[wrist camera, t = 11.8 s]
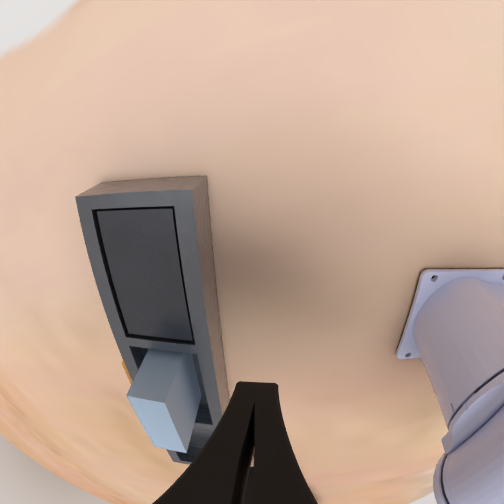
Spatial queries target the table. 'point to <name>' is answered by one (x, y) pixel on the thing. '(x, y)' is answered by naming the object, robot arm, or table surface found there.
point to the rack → (160, 281)
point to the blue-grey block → (166, 398)
